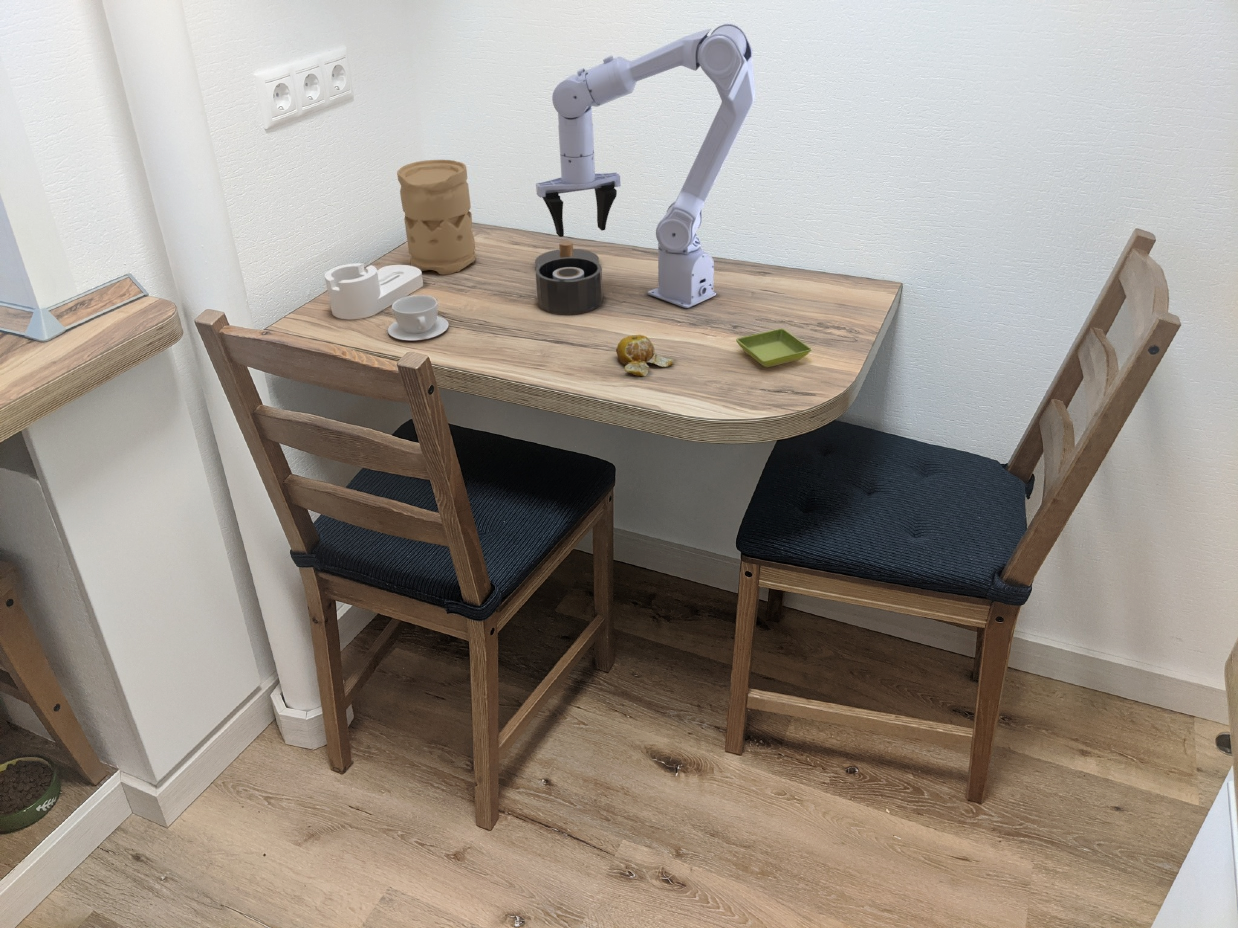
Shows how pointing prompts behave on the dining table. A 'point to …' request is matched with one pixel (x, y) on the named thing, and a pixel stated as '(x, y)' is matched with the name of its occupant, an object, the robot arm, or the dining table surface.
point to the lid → (565, 253)
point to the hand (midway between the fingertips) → (580, 232)
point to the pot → (569, 287)
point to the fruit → (639, 355)
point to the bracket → (369, 288)
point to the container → (437, 215)
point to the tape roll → (568, 273)
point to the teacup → (416, 318)
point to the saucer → (773, 347)
